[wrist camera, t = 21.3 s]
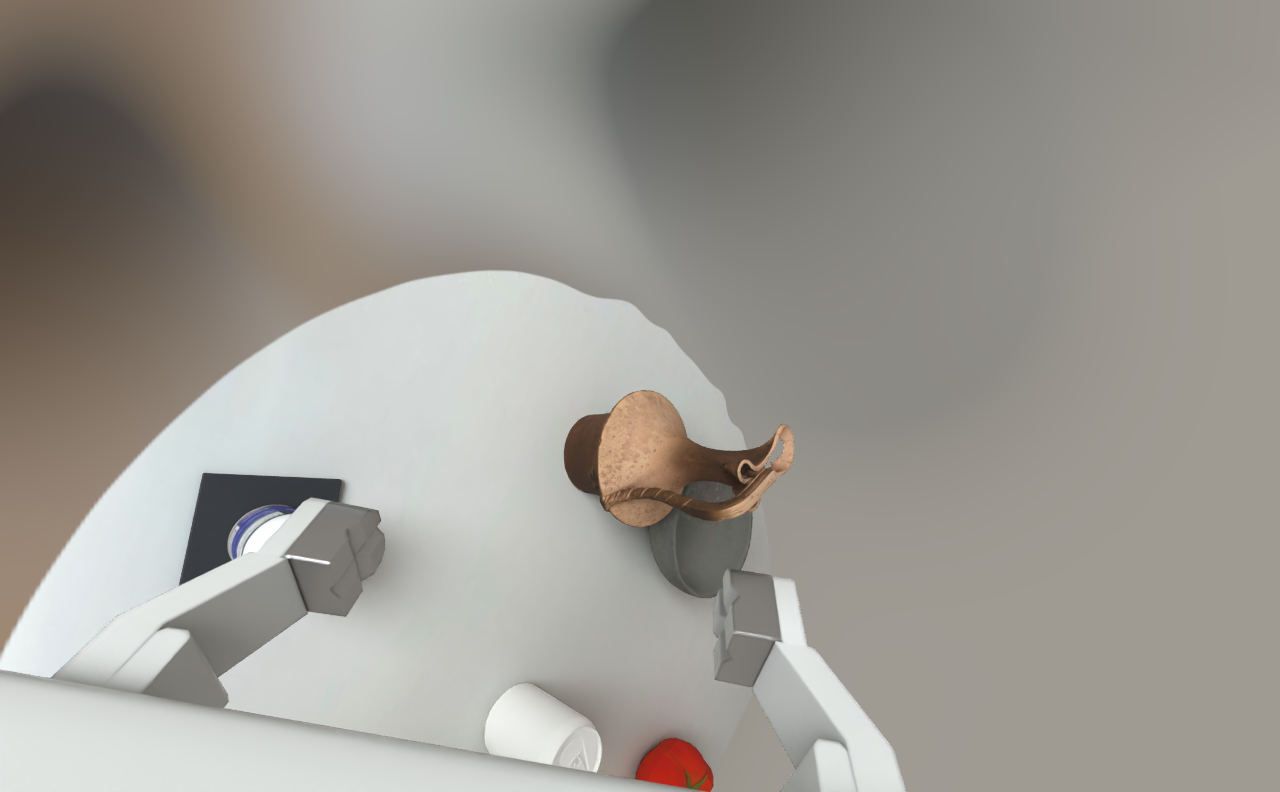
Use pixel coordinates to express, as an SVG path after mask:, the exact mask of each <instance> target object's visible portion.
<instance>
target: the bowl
mask: <svg viewBox="0 0 1280 792" xmlns="http://www.w3.org/2000/svg"><path fill="white" fill-rule="evenodd" d="M681 495H682V496H688V497H689V498H691V499H693V498H694V499H697V500H701V501H705V502H723V501H726V500H729V499H731V498H733V497H734V496H735V495H734V494H733V492H732V487H731V486H728V485H726V484H723V483H719V482H712V481H697V482H693V483H690V484H687V485H686V486H684V488H683V491H682V493H681ZM751 530H752V512H749V511H746V512H745V513H743V514H742V515H740V516H737V517H735V518H732V519H728V520H723V521H707V520H702V519H699V518H695V517H692V516H690V515H688V514H686V513H685V512H683V511H681V510H679V509H677V508H675V507H673V508H672V510H671V511H670V512H669V513H668V514H667V515H666V516H665V517H664V518H663V519H661V520H660V521H658V522H656V523H654V524H652V525H650V542H651V547H652V551H653V554H654V557H655V560H656V562H657V564H658V566H659V568H660V570H661V572H662V573H663V575H664V576H665V577H666V578H667V580H668V581H669V582H670V583H672V584H673V585H674V586H675V587H677V588H678V589H680V590H682V591H683V592H685V593H688V594H690V595H693V596H696V597H700V598H712V597H715V596H717V594H718V591H719V590H720V589H722V588H723V576H724V574H725V571H726V570H727V569H735V570H741V569H742V567H743V564H744V562H745V559H746V556H747V554H748V550H749V546H750V539H751Z"/></svg>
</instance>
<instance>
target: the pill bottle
mask: <svg viewBox="0 0 1280 792" xmlns="http://www.w3.org/2000/svg"><path fill="white" fill-rule="evenodd" d="M295 510H296V509H294V508H291V507H289V506H285V505H267V506H263V507H259V508H257V509H254V510H252V511H250V512H249V513H247V514H246V515H244V516H243V517H242V518H241V519H240V520H239V521H238V522H237V523H236V524H235V526H234V527H233V529H232V530H231V532H230V535H229V538H228V553H229V556H230V558H231V559H232V560H234V559H236V558H238V557H240V556H242V555H244V554H246V553H248V552H255V553H257V552H258V551H259V549H260V548H261V547H262V546H263V545H264V544H265V543H266V542H267V541H268V540H269V539H270V537H271V536H272V535H273V534H274V533H275V532H276V531H277V530H278V529H279V528H280V527H281V525H282V524H283V523H284V522H285V521H286V520H287V519H288V518H289V517H290V516H291V515H292V513H293V512H294V511H295Z"/></svg>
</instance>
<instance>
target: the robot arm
mask: <svg viewBox="0 0 1280 792" xmlns="http://www.w3.org/2000/svg"><path fill="white" fill-rule="evenodd" d="M380 521H381V518H380V515H379V511H378V510H374V509H369V508H364V507H359V506H354V505H349V504H344V503H338V502H333V501H328V500H322V499H317V498H309V499H308V500H306V501H304V502H303V503H302V504H301V505H300V506H299V507H298V508H297V509H296V510H295V511H294V512H293V513H292V515H291V516H290V517H289V518H288V519H287V520H286V521H285V522H284V523H283V524H282V525H281V527H280V528H279V529H278V530H277V531H276V532H275V533H274V534H273V535H272V536H271V537H270V539H269V540H268V541H267V542H266V543H265V544H264V545H263V546H262V547H261V548H260V549H259V551H258V552H257V553H255V552H248V553H246V554H244V555H242V556H240V557H238V558H236V559H234V560H232V561H230V562H228V563H226V564H223V565H221V566H219V567H217V568H215V569H213V570H211V571H209V572H207V573H205V574H203V575H201V576H198V577H196V578H194V579H192V580H190V581H188V582H186V583H184V584H182V585H180V586H178V587H176V588H174V589H171V590H169V591H167V592H165V593H163V594H161V595H159V596H157V597H155V598H153V599H151V600H149V601H147V602H144V603H142V604H140V605H138V606H136V607H134V608H132V609H130V610H128V611H126V612H124V613H122V614H120V615H117V616H116V617H115V618H114V619H113V620H112V621H111V622H110V623H109V624H108V625H107V626H105V627H104V628H103V629H102V630H101V631H100V632H99V633H98V634H97V635H96V636H95V637H94V638H93V639H92V640H91V641H90V642H88V643H87V644H86V645H85V646H84V647H83V648H82V649H81V650H80V651H79V652H78V653H77V654H76V655H75V656H74V657H72V658H71V659H70V660H69V661H68V662H67V663H66V664H65V665H64V666H63V667H62V668H61V669H60V670H59V671H58V672H56V673H55V674H54V675H53V676H52V677H51V678H46V677H40V676H35V675H29V674H23V673H17V672H11V671H6V670H0V792H705V791H700V790H694V789H688V788H682V787H677V786H671V785H665V784H659V783H654V782H648V781H642V780H636V779H630V778H625V777H619V776H613V775H607V774H602V773H596V772H590V771H584V770H578V769H573V768H567V767H561V766H555V765H550V764H544V763H538V762H532V761H527V760H521V759H515V758H509V757H503V756H498V755H492V754H486V753H480V752H475V751H469V750H463V749H457V748H452V747H446V746H440V745H434V744H428V743H423V742H417V741H411V740H405V739H400V738H394V737H388V736H382V735H376V734H371V733H365V732H359V731H353V730H347V729H342V728H336V727H330V726H324V725H319V724H313V723H307V722H301V721H295V720H290V719H284V718H278V717H272V716H266V715H261V714H255V713H249V712H243V711H237V710H232V709H226V708H224V707H225V706H226V704H227V703H228V701H229V700H228V694H227V692H226V690H225V689H224V687H223V686H222V684H221V682H220V681H219V679H218V677H219V676H221V675H222V674H224V673H225V672H226V671H228V670H229V669H231V668H232V667H233V666H235V665H236V664H238V663H239V662H240V661H242V660H243V659H245V658H246V657H247V656H249V655H250V654H252V653H253V652H254V651H256V650H257V649H259V648H260V647H262V646H263V645H264V644H266V643H267V642H269V641H270V640H271V639H273V638H274V637H276V636H277V635H278V634H280V633H281V632H283V631H284V630H285V629H287V628H288V627H290V626H291V625H292V624H294V623H295V622H297V621H298V620H300V619H301V618H302V617H304V616H305V615H307V614H308V612H307V611H309V612H316V613H323V614H330V615H337V616H344V617H346V616H347V614H348V613H349V611H350V610H351V608H352V607H353V605H354V603H355V602H356V600H357V599H358V597H359V596H360V594H361V593H362V591H363V590H362V583H361V581H363V580H364V579H366V578H368V577H369V576H371V575H373V574H374V572H375V571H376V569H377V567H378V566H379V564H380V562H381V559H382V556H383V554H384V551H385V537H384V534H383V533H382V532H381V531H380V530H379V529H378V528H377V526H378V524H379V523H380ZM713 632H714V634H715V635H716V637H717V638H718V641H717V643H716V646H715V649H714V672H715V680H718V681H723V682H728V683H733V684H738V685H743V686H748V687H753V688H752V690H753V692H754V694H755V696H756V698H757V699H758V701H759V703H760V705H761V707H762V709H763V711H764V712H765V714H766V716H767V718H768V720H769V722H770V723H771V725H772V727H773V729H774V731H775V732H776V734H777V736H778V738H779V740H780V742H781V743H782V745H783V747H784V749H785V751H786V752H787V754H788V756H789V758H790V760H791V762H792V764H793V765H794V767H795V769H796V770H795V771H794V773H793V774H792V776H791V777H790V778H789V780H788V781H787V783H786V784H785V786H784V787H783V788H782V790H781V791H780V792H906V789H905V786H904V782H903V779H902V775H901V772H900V768H899V765H898V761H897V758H896V754H895V751H894V749H893V748H892V747H891V745H890V744H889V743H888V741H887V740H886V739H885V738H884V736H883V735H882V734H881V732H880V731H879V730H878V729H877V727H876V726H875V725H874V724H873V722H872V721H871V720H870V718H869V717H868V716H867V715H866V713H865V712H864V711H863V710H862V708H861V707H860V706H859V704H858V703H857V702H856V701H855V699H854V698H853V697H852V696H851V694H850V693H849V692H848V690H847V689H846V688H845V687H844V685H843V684H842V683H841V682H840V681H839V679H838V678H837V677H836V675H835V674H834V673H833V671H832V670H831V669H830V668H829V666H828V665H827V664H826V662H825V661H824V660H823V659H822V657H821V656H820V655H819V653H818V652H817V651H816V650H815V649H814V648H812V647H808V646H807V642H806V636H805V631H804V626H803V621H802V616H801V611H800V605H799V600H798V595H797V590H796V585H795V582H794V581H793V580H792V579H788V578H782V577H775V576H770V575H767V574H760V573H754V572H748V571H741V570H735V569H727V570H726V571H725V574H724V576H723V588H722V589H720V590H719V591H718V594H717V597H716V601H715V607H714V615H713Z"/></svg>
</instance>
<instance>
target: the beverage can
mask: <svg viewBox="0 0 1280 792" xmlns="http://www.w3.org/2000/svg"><path fill="white" fill-rule="evenodd" d="M484 739H485V745H486V748H487V750H488V752H489V753H490V754H492V755H498V756H503V757H509V758H515V759H521V760H527V761H532V762H538V763H544V764H550V765H555V766H561V767H567V768H573V769H578V770H584V771H590V772H596V773H597V772H598V769H599V766H600V762H601V757H602V742H601V738H600V735H599V733H598V732H597V731H596V729H595V726H594V725H593V723H592V722H591V721H590V720H589V719H588V718H586V717H585V716H583V715H582V714H580V713H578V712H577V711H575V710H574V709H572V708H570V707H569V706H567V705H566V704H564V703H562V702H561V701H559V700H558V699H556V698H554V697H553V696H551V695H550V694H548V693H546V692H545V691H543V690H542V689H540V688H538V687H537V686H535V685H533V684H530V683H521V684H518V685H515V686H513V687H511V688H510V689H508V690H507V691H506V692H505V693H504V694H503V695H502V696H501V697H500V698H499V699H498V700H497V702H496V703H495V704H494V706H493V708H492V709H491V711H490V714H489V716H488V719H487V722H486V726H485V732H484Z"/></svg>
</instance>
